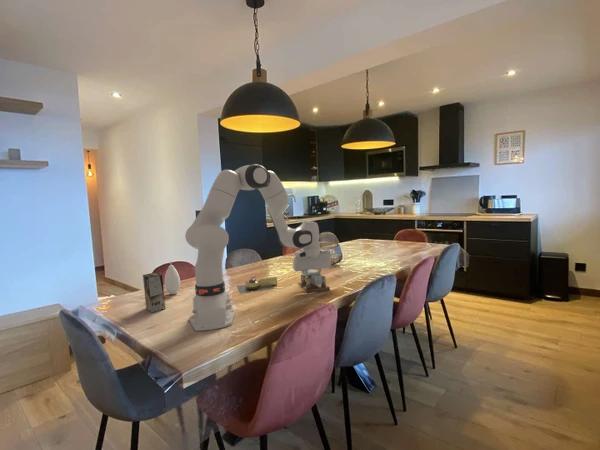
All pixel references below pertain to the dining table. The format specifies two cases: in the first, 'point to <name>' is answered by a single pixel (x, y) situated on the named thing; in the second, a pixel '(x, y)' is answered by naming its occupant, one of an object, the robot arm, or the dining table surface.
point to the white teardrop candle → (172, 280)
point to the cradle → (311, 287)
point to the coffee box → (154, 291)
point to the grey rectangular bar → (314, 277)
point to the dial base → (243, 289)
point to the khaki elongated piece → (261, 282)
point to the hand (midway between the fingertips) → (313, 277)
